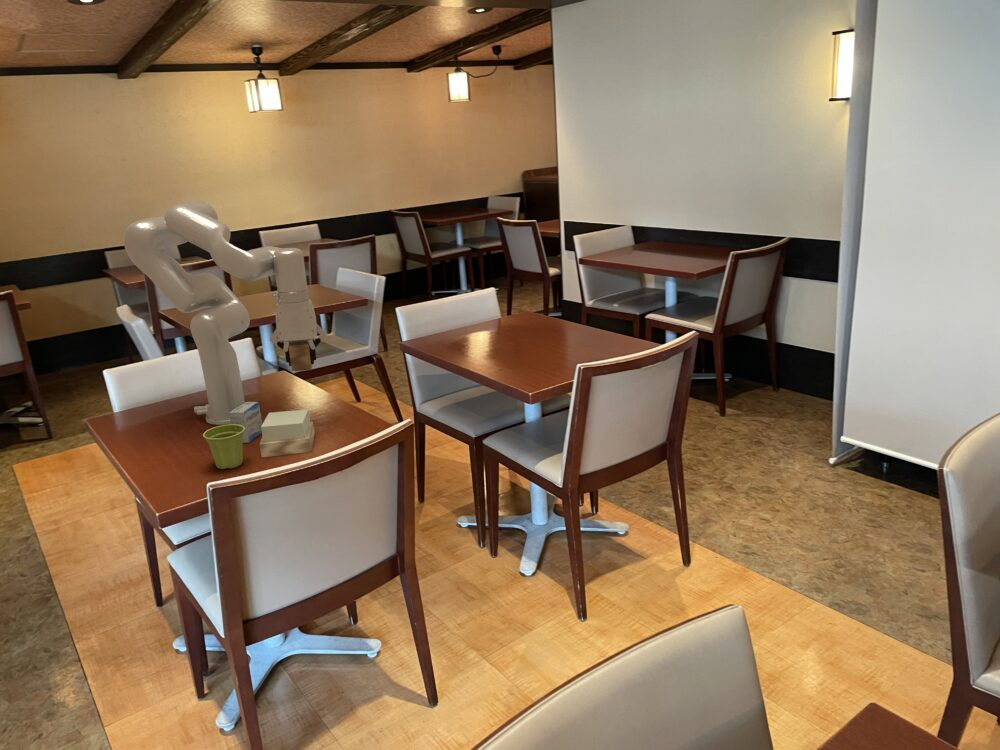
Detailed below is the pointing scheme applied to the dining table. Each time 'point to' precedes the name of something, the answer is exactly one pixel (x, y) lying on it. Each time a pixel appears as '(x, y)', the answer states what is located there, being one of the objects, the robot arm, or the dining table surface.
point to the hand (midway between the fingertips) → (301, 363)
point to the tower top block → (285, 425)
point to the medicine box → (247, 420)
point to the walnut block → (300, 355)
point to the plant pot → (226, 445)
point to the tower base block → (288, 445)
